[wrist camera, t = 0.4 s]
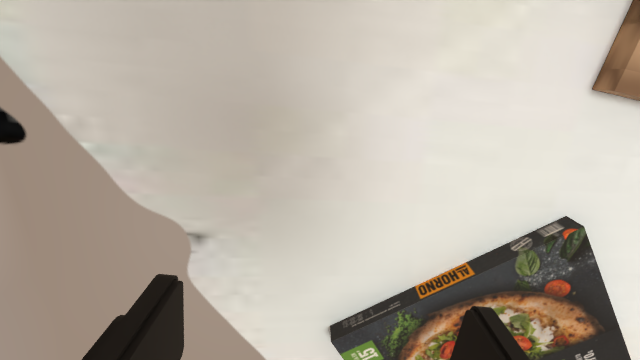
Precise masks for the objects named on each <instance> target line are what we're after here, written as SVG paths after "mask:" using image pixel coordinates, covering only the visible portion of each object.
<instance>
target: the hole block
mask: <svg viewBox="0 0 640 360" xmlns="http://www.w3.org/2000/svg"><path fill="white" fill-rule="evenodd" d="M592 89H593V90H597V91H601V92H605V93H610V94H614V95H618V96H622V97H626V98H631V99H635V100H639V101H640V0H633V2H632V4H631V7H630V9H629V11H628V13H627V15H626V17H625V20H624V22H623V24H622V26H621V28H620V30H619V32H618V35H617V37H616V39H615V41H614V43H613V45H612V48H611V50H610V52H609V54H608V56H607V58H606V60H605V63H604V65H603V67H602V69H601V71H600V73H599V76H598V78H597V80H596V82H595V84H594V86H593V88H592Z"/></svg>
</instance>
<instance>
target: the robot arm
mask: <svg viewBox="0 0 640 360" xmlns="http://www.w3.org/2000/svg"><path fill="white" fill-rule="evenodd" d="M183 318H184V317H183V282H182V281H178V277H177V276H174V275H164V274H158V275H156V277H155V278H154V279H153V280H152V281H151V283H150V284H149V285H148V287H147V288H146V289H145V290H144V292H143V293H142V295H141V296H140V297H139V298H138V300H137V301H136V302H135V303H134V305H133V306H132V307H131V309H130V310H129V311H128V312H127V314H126V315H120V316H118V317H116V319H114V320H113V322H112V323H111V324H110V325H109V327H108V328H107V329H106V330H105V332H104V333H103V334H102V335H101V336H100V338H99V339H98V340H97V342H96V343H95V344H94V345H93V346H92V348H91V349H90V350H89V351H88V353H87V354H86V355H85V356H84V357H83V359H82V360H180V359H181V357H182V353H183V348H184V326H183V325H184V322H183V321H184V319H183ZM450 360H530V359H529V358H528V356H527V355H526V354H525V352H524V351H523V349H522V348H521V347H520V345H519V344H518V343H517V341H516V340H515V338H514V337H513V336H512V334H511V333H510V332H509V330H508V329H507V327H506V326H505V325H504V323H503V322H502V320H501V319H500V318H499V316H498V315H497V314H496V312H495V311H494V310H493V309H492V308H490V307H481V306H472V307H471V308H470V310H467V311H466V312H465V314H464V318H463V321H462V324H461V327H460V330H459V333H458V336H457V339H456V342H455V345H454V348H453V351H452V354H451V357H450Z"/></svg>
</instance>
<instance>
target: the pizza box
mask: <svg viewBox="0 0 640 360" xmlns="http://www.w3.org/2000/svg"><path fill="white" fill-rule="evenodd" d="M472 306H481V307H490V308H492V309H493V310H494V311H495V312H496V314H497V315H498V316H499V318H500V319H501V320H502V322H503V323H504V325H505V326H506V327H507V329H508V330H509V332H510V333H511V334H512V336H513V337H514V338H515V340H516V341H517V343H518V344H519V345H520V347H521V348H522V349H523V351H524V352H525V354H526V355H527V356H528V358H529V359H530V360H631V358H630V356H629V353H628V350H627V347H626V344H625V341H624V339H623V336H622V333H621V330H620V327H619V324H618V322H617V319H616V316H615V313H614V310H613V307H612V305H611V302H610V299H609V296H608V293H607V290H606V288H605V285H604V282H603V279H602V276H601V273H600V271H599V268H598V265H597V262H596V259H595V256H594V254H593V251H592V248H591V245H590V242H589V239H588V237H587V234H586V231H585V228H584V226H582V225H580V224H579V223H577V222H575V221H574V220H572V219H570V218H569V217H567V216H565V217H563V218H561V219H559V220H557V221H555V222H552V223H550V224H548V225H546V226H544V227H542V228H539V229H537V230H535V231H533V232H531V233H529V234H527V235H524V236H522V237H520V238H518V239H516V240H514V241H512V242H509V243H507V244H505V245H503V246H501V247H499V248H497V249H494V250H492V251H490V252H488V253H486V254H484V255H481V256H479V257H477V258H475V259H473V260H471V261H469V262H466V263H464V264H462V265H460V266H458V267H456V268H454V269H451V270H449V271H447V272H445V273H443V274H441V275H438V276H436V277H434V278H432V279H430V280H428V281H426V282H423V283H421V284H419V285H417V286H415V287H413V288H411V289H408V290H406V291H404V292H402V293H400V294H398V295H396V296H393V297H391V298H389V299H387V300H385V301H383V302H380V303H378V304H376V305H374V306H372V307H370V308H368V309H365V310H363V311H361V312H359V313H357V314H355V315H353V316H350V317H348V318H346V319H344V320H342V321H340V322H338V323H335V324H333V325H331V326H330V328H331V342H332V344H333V345H334V347H335V348H336V349H337V351H338V352H339V354H340V355H341V356H342V358H343V359H344V360H450V357H451V354H452V351H453V348H454V345H455V342H456V339H457V336H458V333H459V330H460V327H461V324H462V321H463V318H464V314H465V312H466V311H467V310H470V308H471V307H472Z"/></svg>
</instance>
